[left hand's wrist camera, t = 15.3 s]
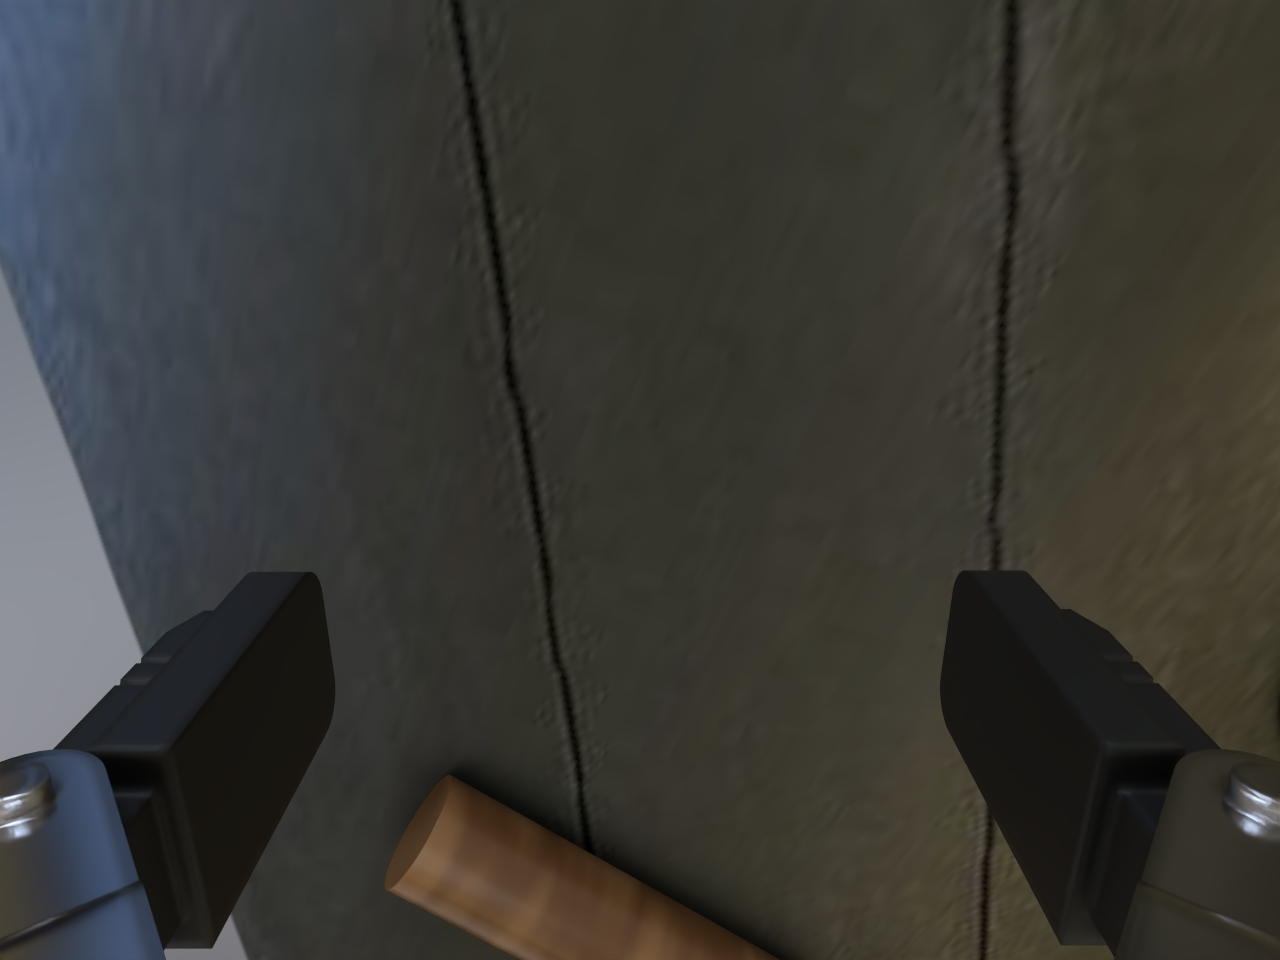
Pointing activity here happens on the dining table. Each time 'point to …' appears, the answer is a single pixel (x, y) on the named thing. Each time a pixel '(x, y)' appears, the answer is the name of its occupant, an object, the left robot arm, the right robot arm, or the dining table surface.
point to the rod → (540, 889)
